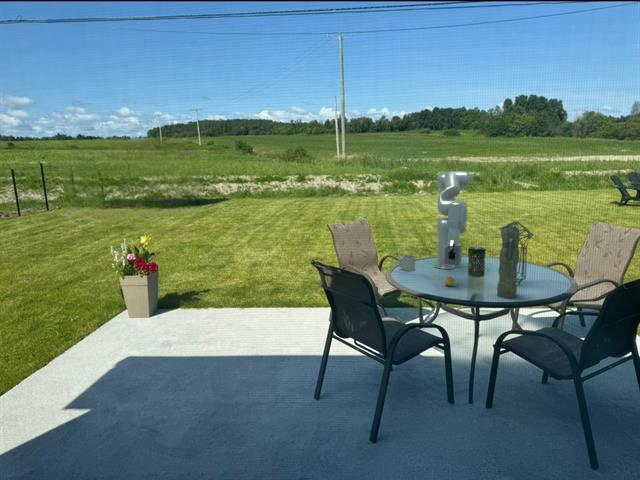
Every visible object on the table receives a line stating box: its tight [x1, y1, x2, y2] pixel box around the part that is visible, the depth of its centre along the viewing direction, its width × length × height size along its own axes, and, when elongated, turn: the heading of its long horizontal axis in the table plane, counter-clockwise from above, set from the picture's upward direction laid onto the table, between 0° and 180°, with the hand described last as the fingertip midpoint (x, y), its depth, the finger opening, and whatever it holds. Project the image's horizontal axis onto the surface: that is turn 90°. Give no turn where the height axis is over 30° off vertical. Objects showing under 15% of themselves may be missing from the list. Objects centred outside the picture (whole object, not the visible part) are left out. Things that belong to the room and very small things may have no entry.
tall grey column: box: [496, 226, 521, 299], centre depth 224 cm, size 9×12×35 cm
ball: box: [444, 276, 455, 287], centre depth 245 cm, size 5×5×5 cm
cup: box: [398, 254, 416, 272], centre depth 281 cm, size 7×10×9 cm
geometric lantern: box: [498, 221, 534, 286], centre depth 247 cm, size 16×16×35 cm
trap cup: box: [444, 245, 463, 266], centre depth 242 cm, size 8×8×9 cm
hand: (453, 257), depth 242 cm, fingers closed on trap cup, 7 cm apart
